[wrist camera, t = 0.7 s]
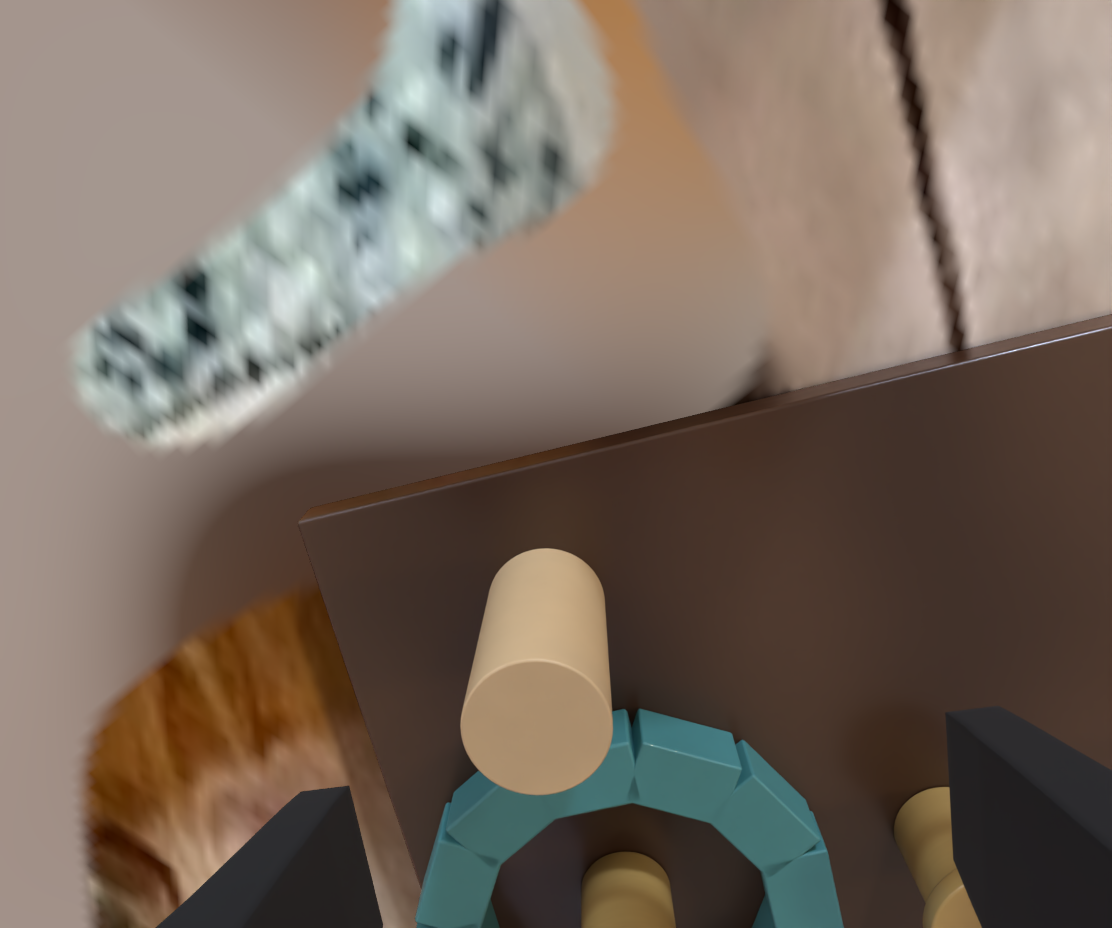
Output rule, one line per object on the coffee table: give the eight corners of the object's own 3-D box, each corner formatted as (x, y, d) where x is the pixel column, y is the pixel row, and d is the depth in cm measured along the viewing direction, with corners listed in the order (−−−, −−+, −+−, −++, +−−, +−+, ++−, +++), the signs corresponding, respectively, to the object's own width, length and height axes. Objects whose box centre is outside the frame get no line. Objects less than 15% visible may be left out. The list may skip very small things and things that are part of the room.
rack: (494, 1062, 24) (477, 1236, 20) (308, 507, 21) (242, 583, 17) (1456, 881, 23) (1653, 1034, 18) (1442, 233, 19) (1682, 243, 15)
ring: (488, 1077, 23) (464, 1305, 19) (326, 597, 20) (247, 721, 15) (854, 1009, 23) (929, 1228, 18) (745, 499, 19) (801, 597, 15)
